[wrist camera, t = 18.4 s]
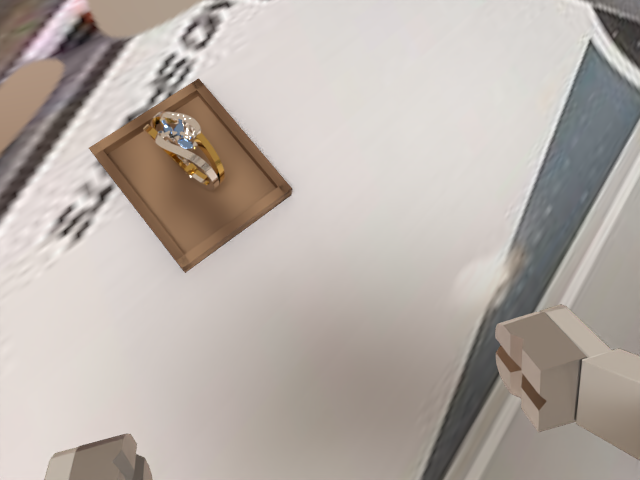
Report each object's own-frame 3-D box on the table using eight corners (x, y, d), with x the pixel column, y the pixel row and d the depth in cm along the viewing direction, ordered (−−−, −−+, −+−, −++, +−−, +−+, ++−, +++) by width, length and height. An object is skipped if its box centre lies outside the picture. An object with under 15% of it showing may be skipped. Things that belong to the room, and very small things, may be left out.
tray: (200, 88, 48) (198, 78, 47) (291, 195, 46) (291, 188, 44) (94, 155, 46) (88, 148, 44) (185, 272, 43) (182, 268, 42)
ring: (235, 187, 45) (227, 144, 38) (208, 213, 44) (194, 174, 37) (177, 135, 46) (157, 82, 38) (149, 159, 45) (123, 111, 38)
